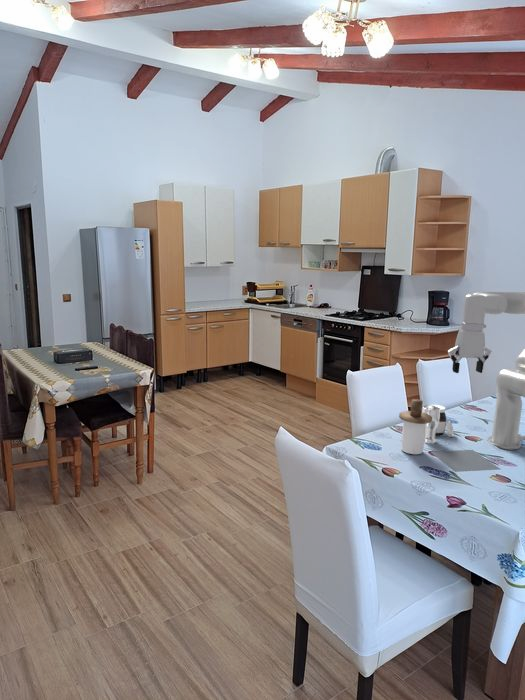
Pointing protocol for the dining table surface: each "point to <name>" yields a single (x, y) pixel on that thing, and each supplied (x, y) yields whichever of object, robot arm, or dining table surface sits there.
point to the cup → (413, 437)
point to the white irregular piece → (444, 424)
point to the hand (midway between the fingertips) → (467, 372)
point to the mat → (464, 460)
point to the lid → (416, 413)
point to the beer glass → (433, 425)
